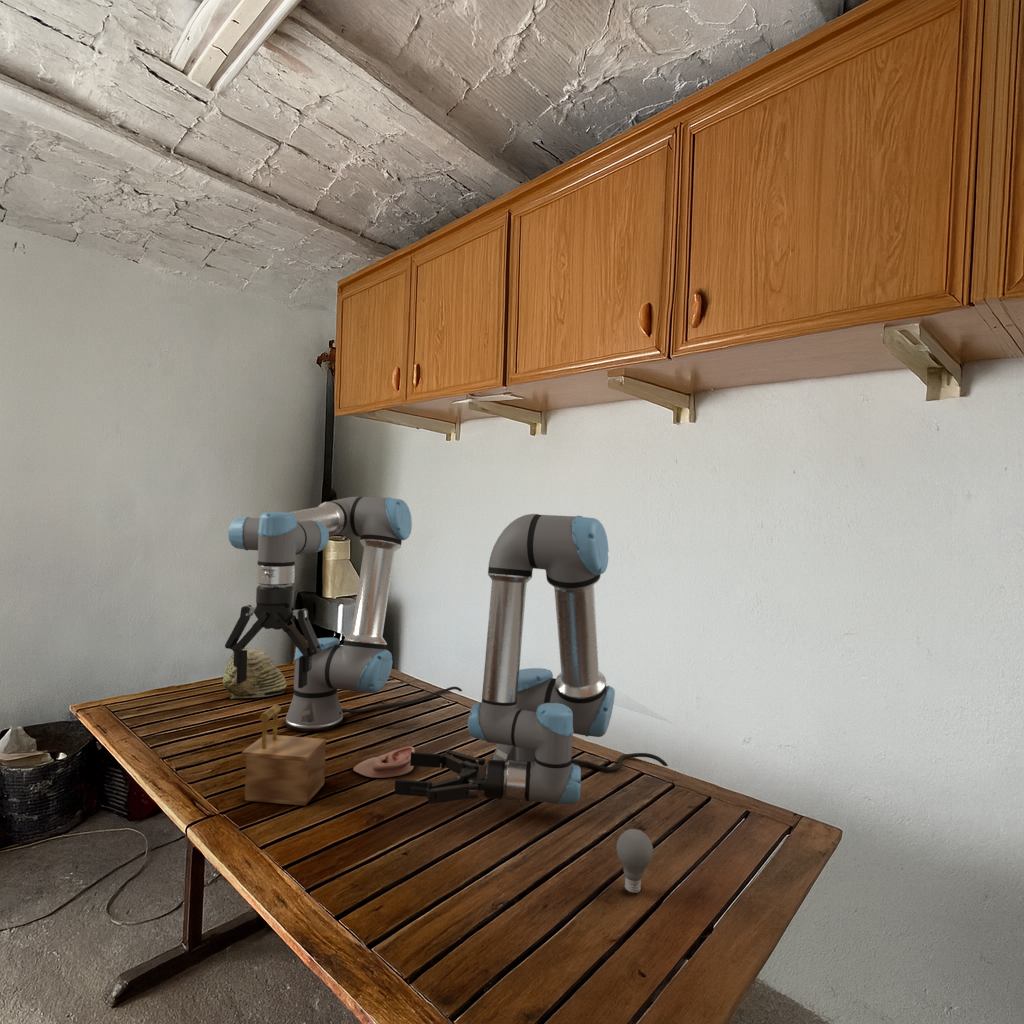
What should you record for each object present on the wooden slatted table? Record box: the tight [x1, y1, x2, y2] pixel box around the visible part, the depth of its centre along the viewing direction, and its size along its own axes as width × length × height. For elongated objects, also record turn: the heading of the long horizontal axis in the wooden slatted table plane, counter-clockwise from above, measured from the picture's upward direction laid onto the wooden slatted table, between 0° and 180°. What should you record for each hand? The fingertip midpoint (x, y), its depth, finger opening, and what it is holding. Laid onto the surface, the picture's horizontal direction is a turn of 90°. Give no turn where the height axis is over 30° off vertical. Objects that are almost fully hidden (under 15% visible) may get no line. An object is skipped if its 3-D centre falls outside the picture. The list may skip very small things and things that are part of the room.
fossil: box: [222, 646, 288, 699], centre depth 198 cm, size 9×18×15 cm, turn 132°
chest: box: [244, 742, 327, 807], centre depth 135 cm, size 13×10×9 cm
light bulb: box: [615, 828, 654, 894], centre depth 106 cm, size 6×6×10 cm
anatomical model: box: [352, 746, 416, 779], centre depth 149 cm, size 13×4×12 cm
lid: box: [241, 704, 327, 761], centre depth 135 cm, size 14×10×8 cm
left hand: (271, 684), depth 135 cm, fingers open, 13 cm apart
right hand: (403, 772), depth 132 cm, fingers open, 13 cm apart
